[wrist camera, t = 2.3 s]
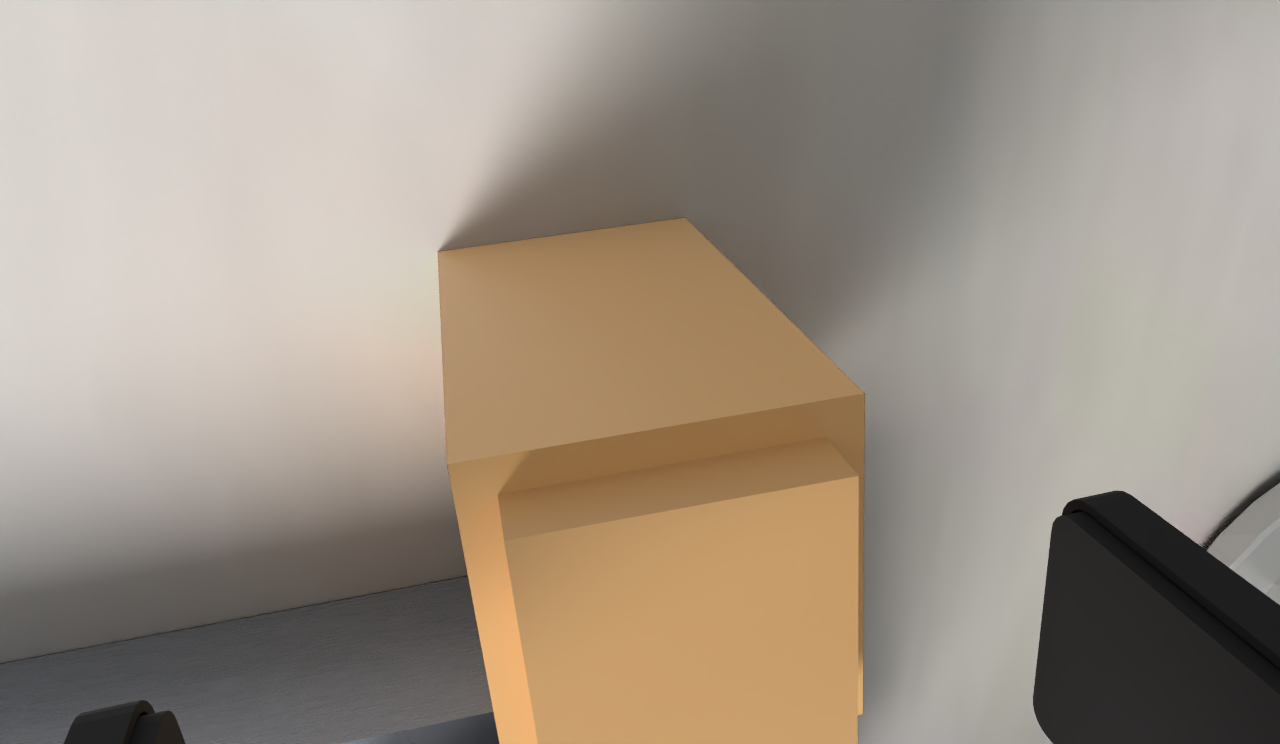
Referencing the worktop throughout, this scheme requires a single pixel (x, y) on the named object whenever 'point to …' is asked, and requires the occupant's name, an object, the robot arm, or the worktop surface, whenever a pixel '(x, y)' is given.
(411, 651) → the power strip
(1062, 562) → the robot arm
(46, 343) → the worktop surface
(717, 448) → the plug
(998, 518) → the worktop surface
